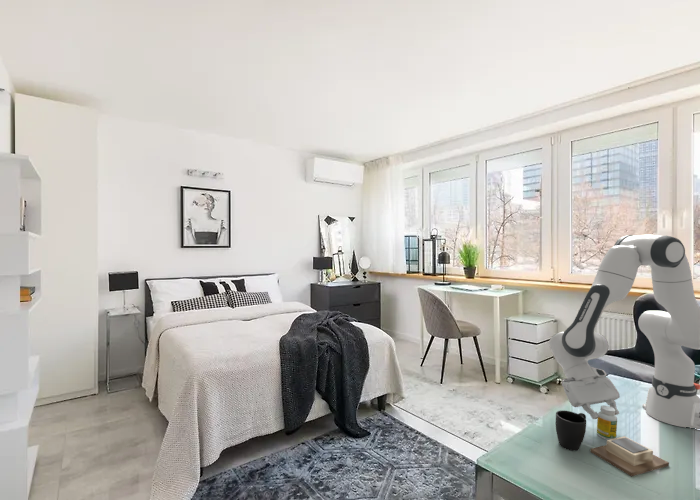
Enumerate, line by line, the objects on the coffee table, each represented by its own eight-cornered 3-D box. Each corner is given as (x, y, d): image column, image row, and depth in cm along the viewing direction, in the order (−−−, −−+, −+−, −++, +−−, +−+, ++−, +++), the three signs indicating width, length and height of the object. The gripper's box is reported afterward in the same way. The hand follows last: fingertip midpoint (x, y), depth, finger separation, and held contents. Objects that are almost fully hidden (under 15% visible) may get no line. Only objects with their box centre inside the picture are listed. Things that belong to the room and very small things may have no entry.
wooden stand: (625, 443, 119) (626, 430, 119) (668, 465, 108) (669, 451, 107) (590, 451, 113) (591, 438, 113) (631, 476, 102) (632, 461, 102)
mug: (596, 446, 116) (598, 417, 116) (574, 456, 111) (576, 425, 110) (570, 433, 124) (572, 406, 123) (548, 442, 118) (550, 413, 117)
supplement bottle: (600, 430, 127) (602, 403, 126) (618, 437, 122) (620, 409, 122) (593, 434, 124) (595, 406, 123) (611, 442, 119) (613, 413, 119)
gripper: (565, 375, 126) (591, 417, 117) (607, 370, 133) (634, 409, 124) (553, 383, 130) (577, 424, 121) (594, 377, 137) (620, 415, 128)
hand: (606, 416), depth 123 cm, fingers open, 8 cm apart
